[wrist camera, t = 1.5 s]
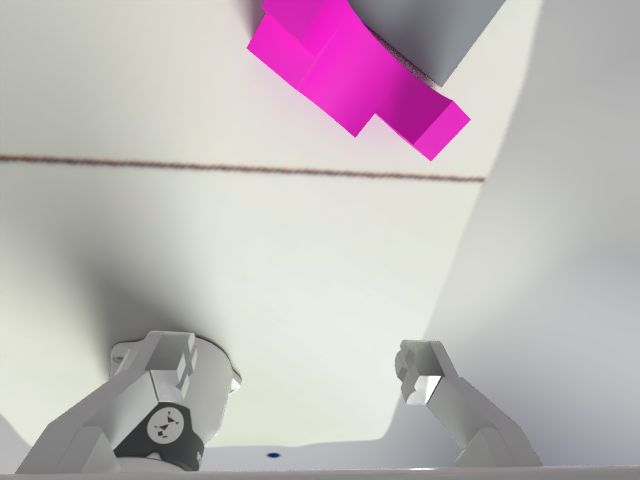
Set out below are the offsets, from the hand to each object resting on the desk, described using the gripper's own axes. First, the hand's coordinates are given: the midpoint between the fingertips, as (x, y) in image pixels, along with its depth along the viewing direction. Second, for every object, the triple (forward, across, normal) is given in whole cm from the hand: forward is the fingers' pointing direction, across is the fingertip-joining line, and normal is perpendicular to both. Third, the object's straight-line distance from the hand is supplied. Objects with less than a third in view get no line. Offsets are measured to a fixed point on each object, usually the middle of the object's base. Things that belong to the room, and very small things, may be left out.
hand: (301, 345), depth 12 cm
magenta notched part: (+22, -3, -8) cm, 24 cm away
